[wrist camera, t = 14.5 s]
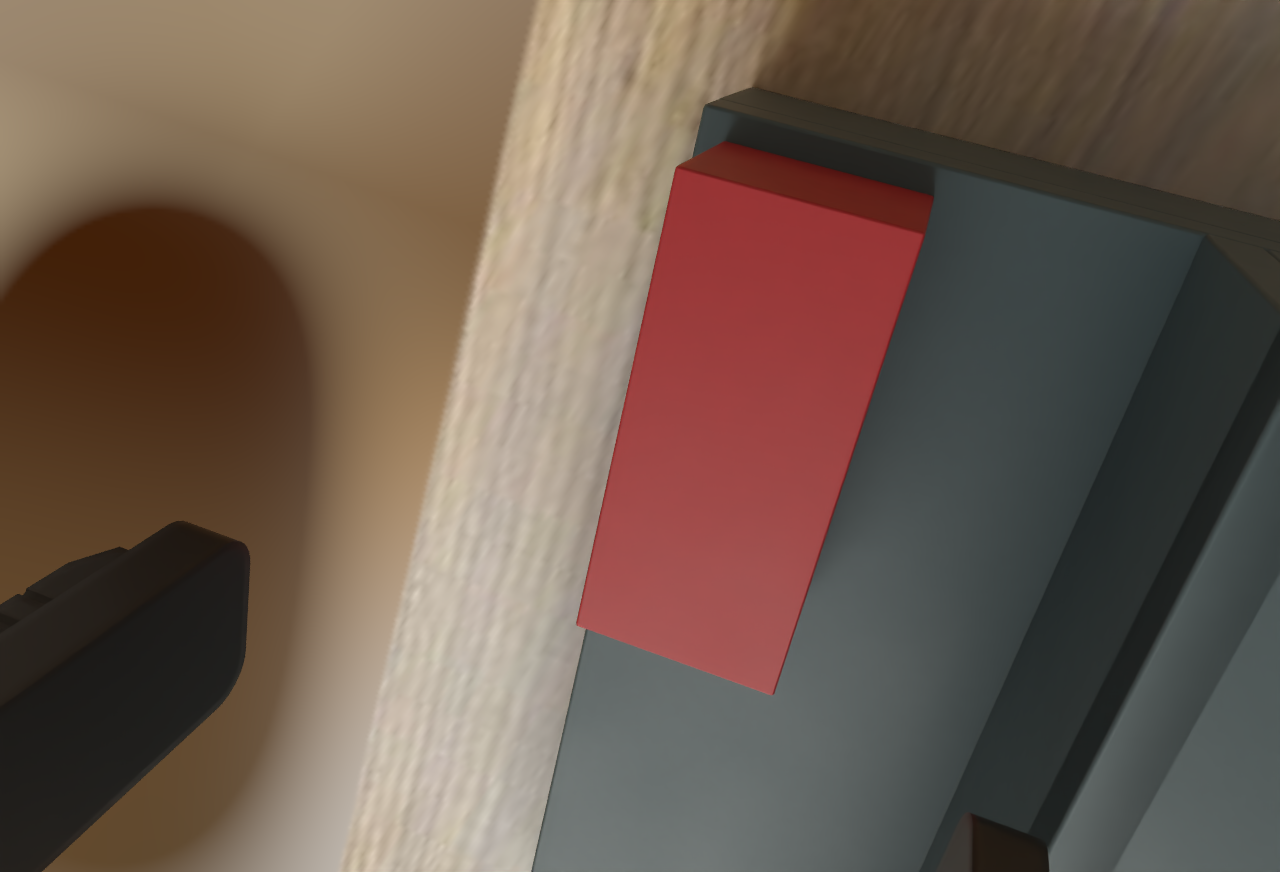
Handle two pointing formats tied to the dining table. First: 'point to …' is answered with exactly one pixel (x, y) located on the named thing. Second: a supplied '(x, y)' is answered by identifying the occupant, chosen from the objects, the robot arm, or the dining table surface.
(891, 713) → the shelf
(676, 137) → the dining table surface
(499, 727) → the dining table surface
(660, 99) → the dining table surface
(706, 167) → the red rectangular block
